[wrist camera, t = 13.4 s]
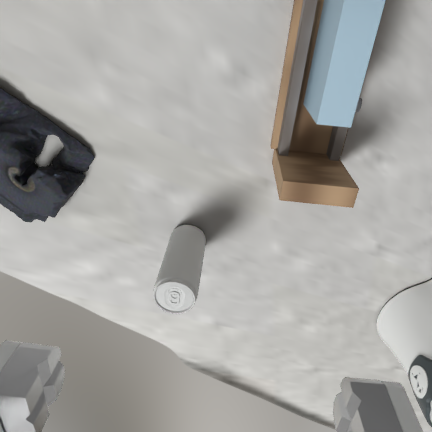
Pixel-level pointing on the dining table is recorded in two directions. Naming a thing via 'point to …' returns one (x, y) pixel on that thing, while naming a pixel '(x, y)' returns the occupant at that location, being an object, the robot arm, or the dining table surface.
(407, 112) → the dining table surface
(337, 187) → the wooden rack
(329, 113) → the door panel
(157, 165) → the dining table surface
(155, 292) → the beverage can
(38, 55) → the dining table surface
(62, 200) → the dark grey flat piece
